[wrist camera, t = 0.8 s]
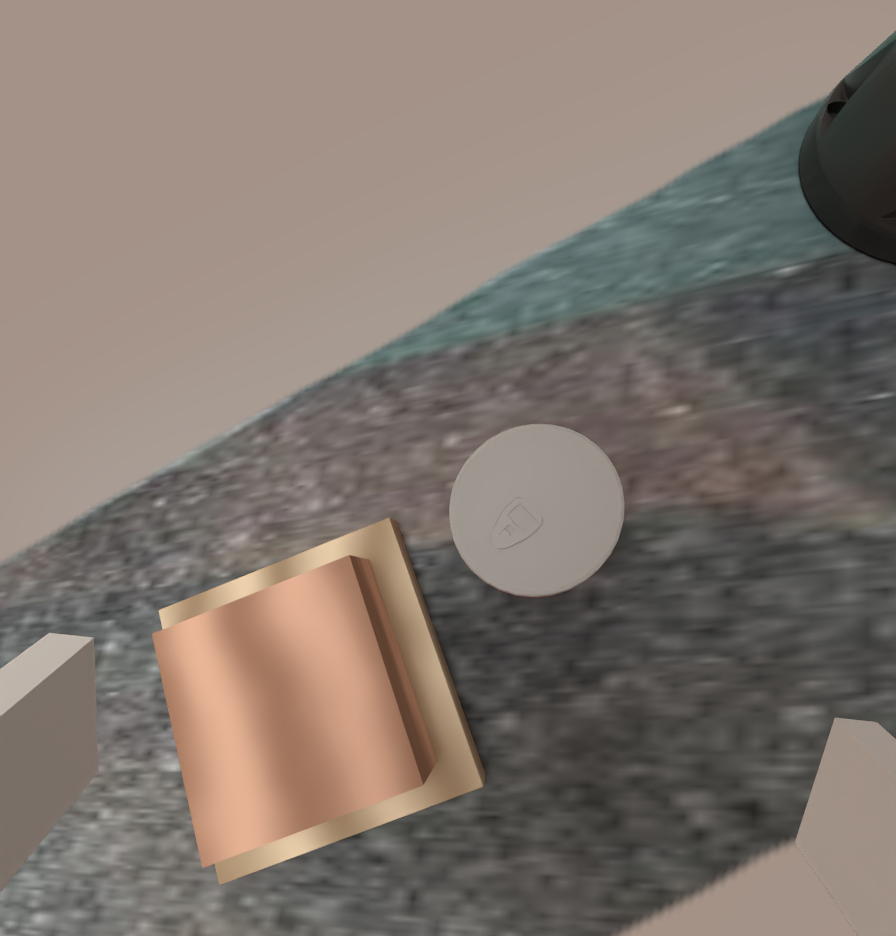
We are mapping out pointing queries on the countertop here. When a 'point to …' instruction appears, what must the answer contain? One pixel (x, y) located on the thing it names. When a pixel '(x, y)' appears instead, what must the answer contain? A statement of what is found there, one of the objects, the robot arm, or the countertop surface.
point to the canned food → (536, 510)
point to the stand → (311, 703)
